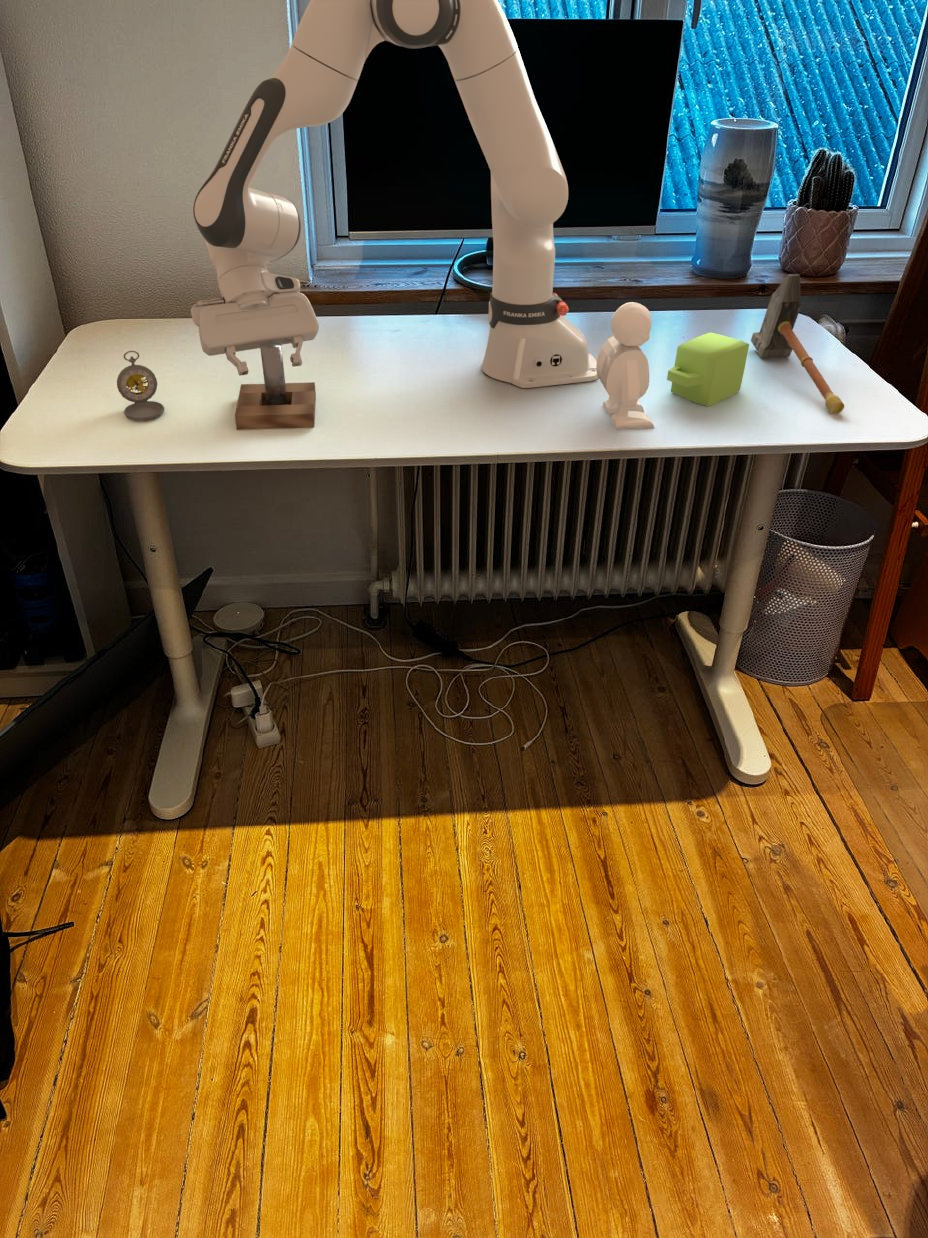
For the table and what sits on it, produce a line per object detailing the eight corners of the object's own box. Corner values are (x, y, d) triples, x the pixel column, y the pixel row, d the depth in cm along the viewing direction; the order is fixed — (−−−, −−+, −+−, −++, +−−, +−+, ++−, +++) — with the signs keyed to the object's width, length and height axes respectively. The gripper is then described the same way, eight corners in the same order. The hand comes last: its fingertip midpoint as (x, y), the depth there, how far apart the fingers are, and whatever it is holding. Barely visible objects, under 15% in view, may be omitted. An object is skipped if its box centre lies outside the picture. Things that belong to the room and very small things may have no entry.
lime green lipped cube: (708, 369, 185) (717, 321, 179) (753, 384, 179) (763, 335, 173) (652, 395, 175) (660, 345, 169) (698, 412, 169) (707, 361, 163)
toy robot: (657, 432, 162) (674, 316, 150) (606, 434, 161) (619, 318, 149) (635, 398, 173) (650, 288, 161) (587, 400, 172) (598, 289, 160)
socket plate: (315, 395, 172) (314, 382, 171) (314, 427, 162) (313, 413, 160) (242, 397, 171) (241, 384, 169) (236, 429, 161) (234, 415, 159)
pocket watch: (144, 426, 161) (132, 369, 155) (109, 414, 165) (97, 358, 159) (179, 408, 167) (169, 353, 161) (145, 397, 170) (134, 343, 164)
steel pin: (288, 407, 168) (281, 341, 161) (287, 415, 165) (280, 348, 158) (268, 407, 168) (260, 341, 160) (267, 416, 165) (259, 349, 158)
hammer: (839, 364, 161) (774, 268, 181) (807, 440, 173) (749, 342, 193) (873, 362, 162) (804, 267, 181) (839, 438, 174) (778, 341, 194)
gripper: (188, 293, 157) (212, 371, 156) (307, 277, 164) (330, 352, 163) (186, 311, 163) (209, 386, 162) (301, 295, 170) (323, 367, 169)
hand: (271, 369), depth 163 cm, fingers open, 8 cm apart
